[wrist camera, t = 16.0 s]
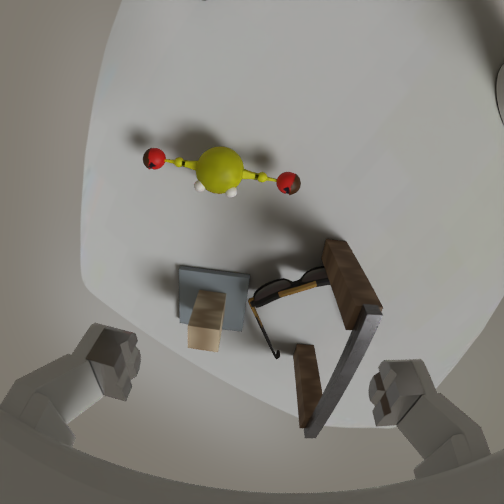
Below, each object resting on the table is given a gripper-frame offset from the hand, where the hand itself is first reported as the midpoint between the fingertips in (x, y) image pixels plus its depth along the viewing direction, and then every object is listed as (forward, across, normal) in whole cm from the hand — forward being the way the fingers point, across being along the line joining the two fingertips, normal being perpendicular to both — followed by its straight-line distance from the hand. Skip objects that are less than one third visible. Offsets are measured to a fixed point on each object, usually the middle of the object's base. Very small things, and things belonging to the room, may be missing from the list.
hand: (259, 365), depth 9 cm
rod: (+15, -11, +19) cm, 27 cm away
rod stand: (+30, -10, +20) cm, 37 cm away
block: (+28, +6, +20) cm, 35 cm away
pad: (+29, +6, +20) cm, 36 cm away
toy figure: (+30, +6, 0) cm, 30 cm away
